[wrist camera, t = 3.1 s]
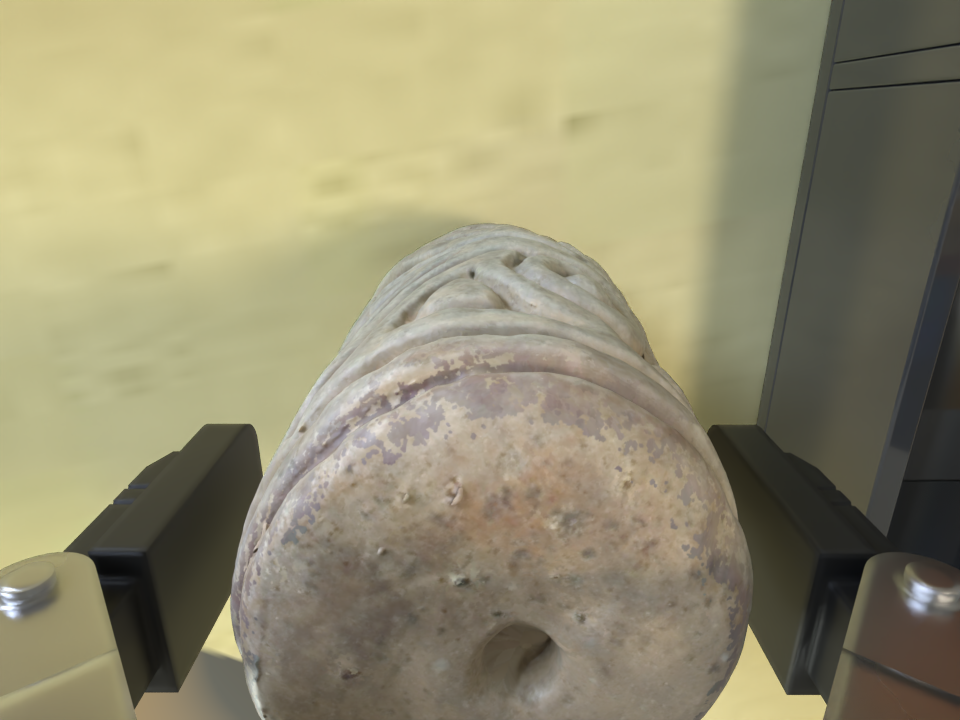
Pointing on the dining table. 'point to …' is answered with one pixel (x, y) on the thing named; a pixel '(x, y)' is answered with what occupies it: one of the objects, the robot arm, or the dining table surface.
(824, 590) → the robot arm
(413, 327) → the carving
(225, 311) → the dining table surface
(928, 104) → the storage box with compartments
